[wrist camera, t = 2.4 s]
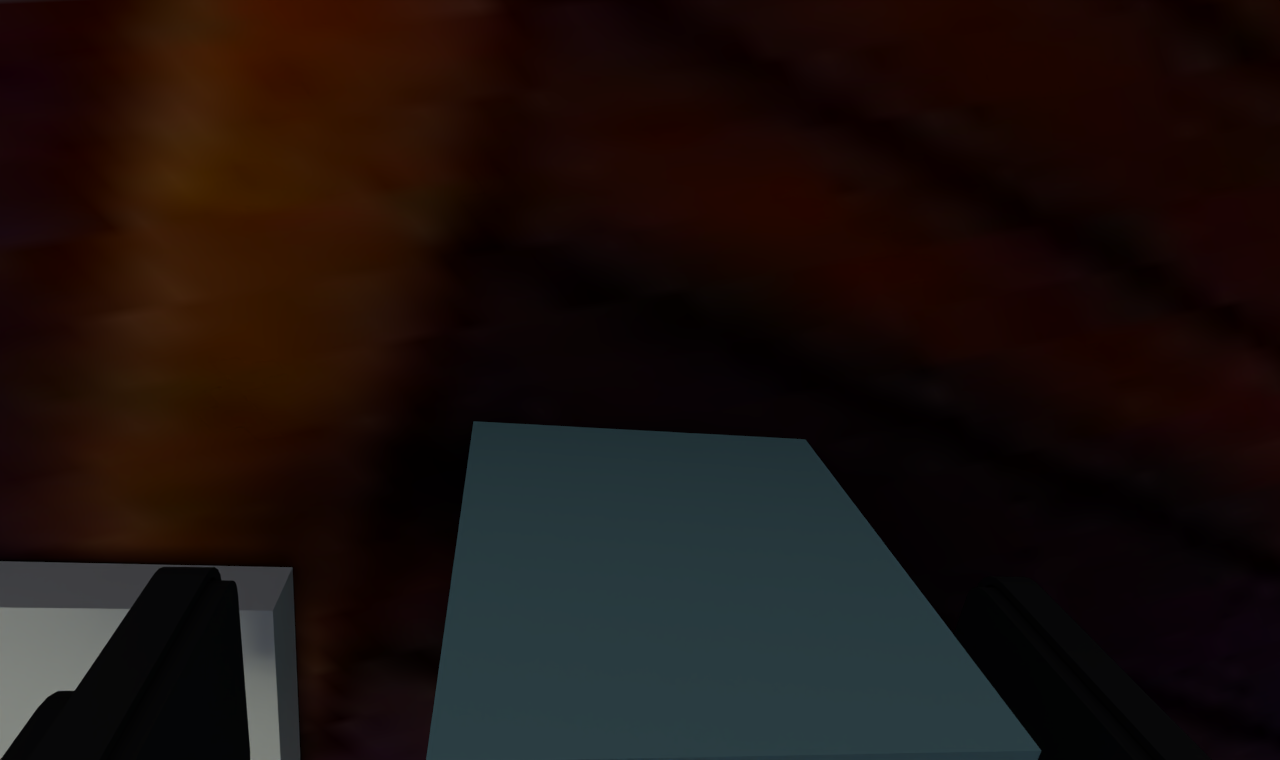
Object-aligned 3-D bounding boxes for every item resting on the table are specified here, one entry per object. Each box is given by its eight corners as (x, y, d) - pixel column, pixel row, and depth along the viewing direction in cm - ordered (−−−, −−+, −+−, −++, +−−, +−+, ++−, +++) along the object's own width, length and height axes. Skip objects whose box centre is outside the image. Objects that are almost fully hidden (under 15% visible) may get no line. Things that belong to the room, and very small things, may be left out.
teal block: (804, 438, 12) (1039, 750, 7) (748, 692, 14) (898, 1109, 8) (473, 419, 11) (425, 762, 6) (458, 694, 13) (412, 1157, 7)
